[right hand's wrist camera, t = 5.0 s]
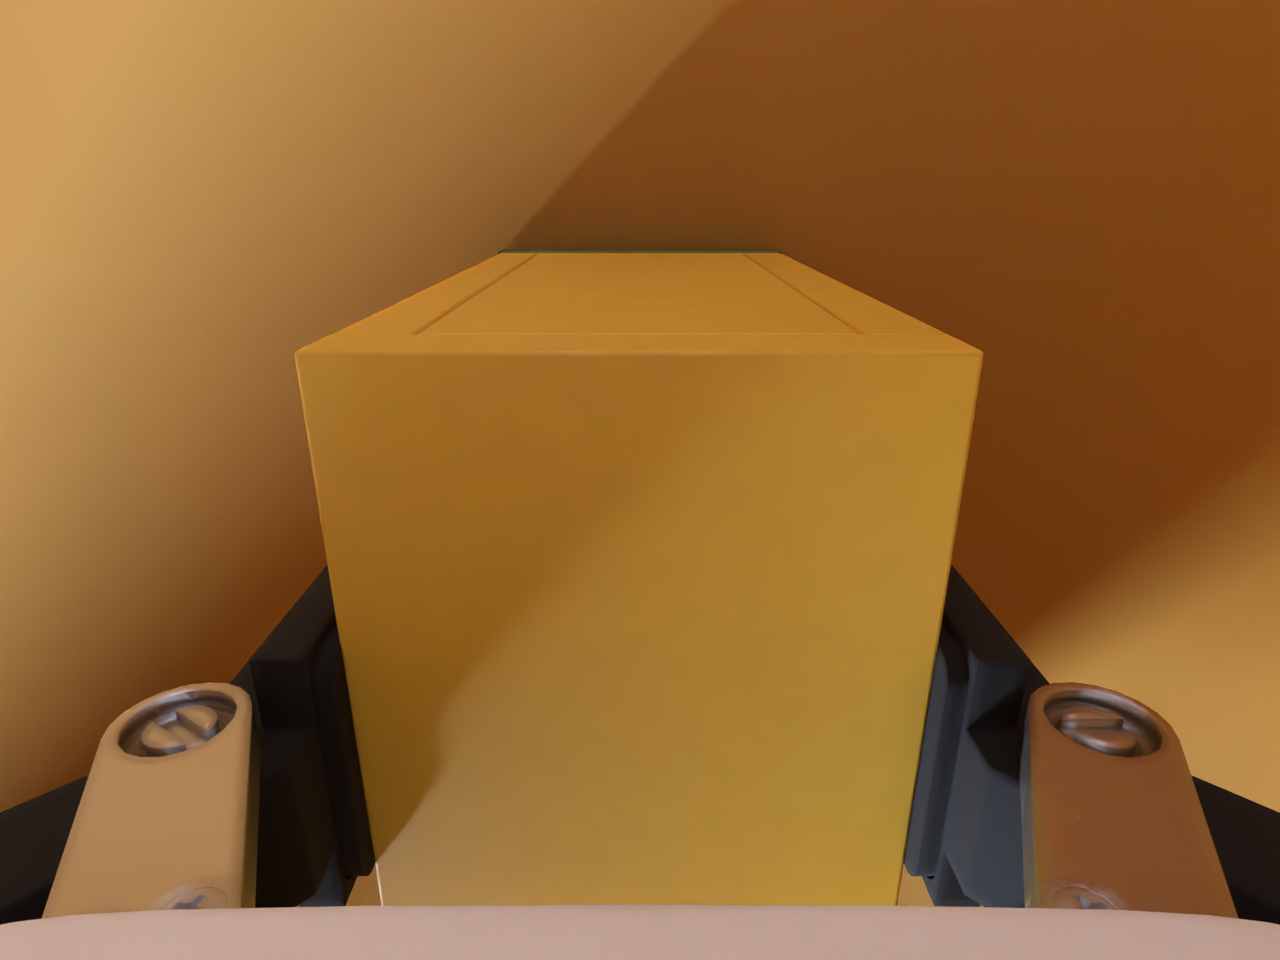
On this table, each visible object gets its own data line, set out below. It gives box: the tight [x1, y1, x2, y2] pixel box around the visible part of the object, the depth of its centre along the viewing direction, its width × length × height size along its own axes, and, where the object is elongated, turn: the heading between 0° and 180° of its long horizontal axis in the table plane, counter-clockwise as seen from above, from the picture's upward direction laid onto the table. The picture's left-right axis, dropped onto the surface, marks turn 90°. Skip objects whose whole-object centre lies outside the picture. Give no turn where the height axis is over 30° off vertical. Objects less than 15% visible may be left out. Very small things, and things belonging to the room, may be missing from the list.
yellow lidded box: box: [295, 250, 984, 906], centre depth 15 cm, size 16×6×12 cm, turn 0°
